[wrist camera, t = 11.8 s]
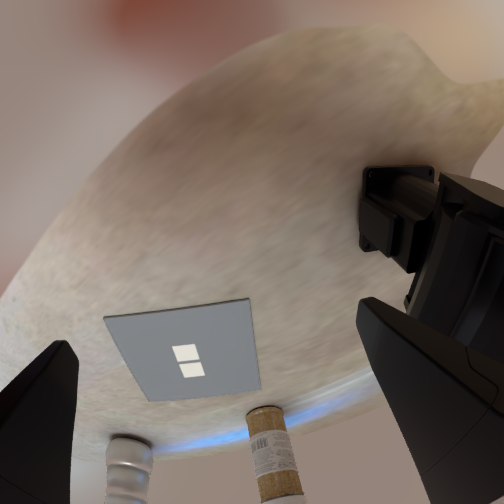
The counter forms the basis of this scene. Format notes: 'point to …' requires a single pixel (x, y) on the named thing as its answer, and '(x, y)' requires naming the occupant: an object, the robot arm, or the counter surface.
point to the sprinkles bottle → (273, 458)
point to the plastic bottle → (128, 471)
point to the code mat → (189, 350)
